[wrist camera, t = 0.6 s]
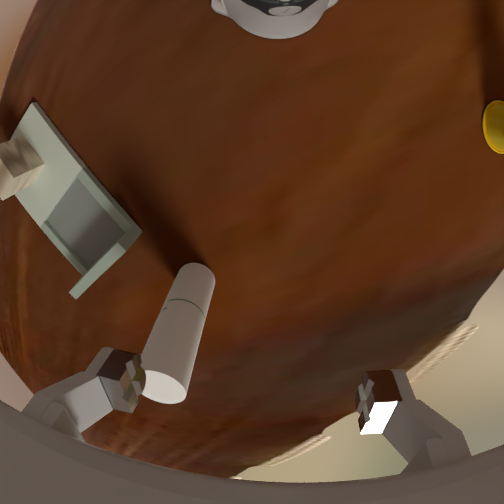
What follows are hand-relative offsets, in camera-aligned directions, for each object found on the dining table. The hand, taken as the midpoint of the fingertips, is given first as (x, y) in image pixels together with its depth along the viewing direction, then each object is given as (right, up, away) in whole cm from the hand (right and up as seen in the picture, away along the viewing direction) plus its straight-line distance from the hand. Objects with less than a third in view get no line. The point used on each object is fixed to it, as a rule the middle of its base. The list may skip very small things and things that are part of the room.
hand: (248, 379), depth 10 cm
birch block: (-43, +22, +34) cm, 59 cm away
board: (-37, +16, +38) cm, 55 cm away
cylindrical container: (-10, 0, +46) cm, 47 cm away
